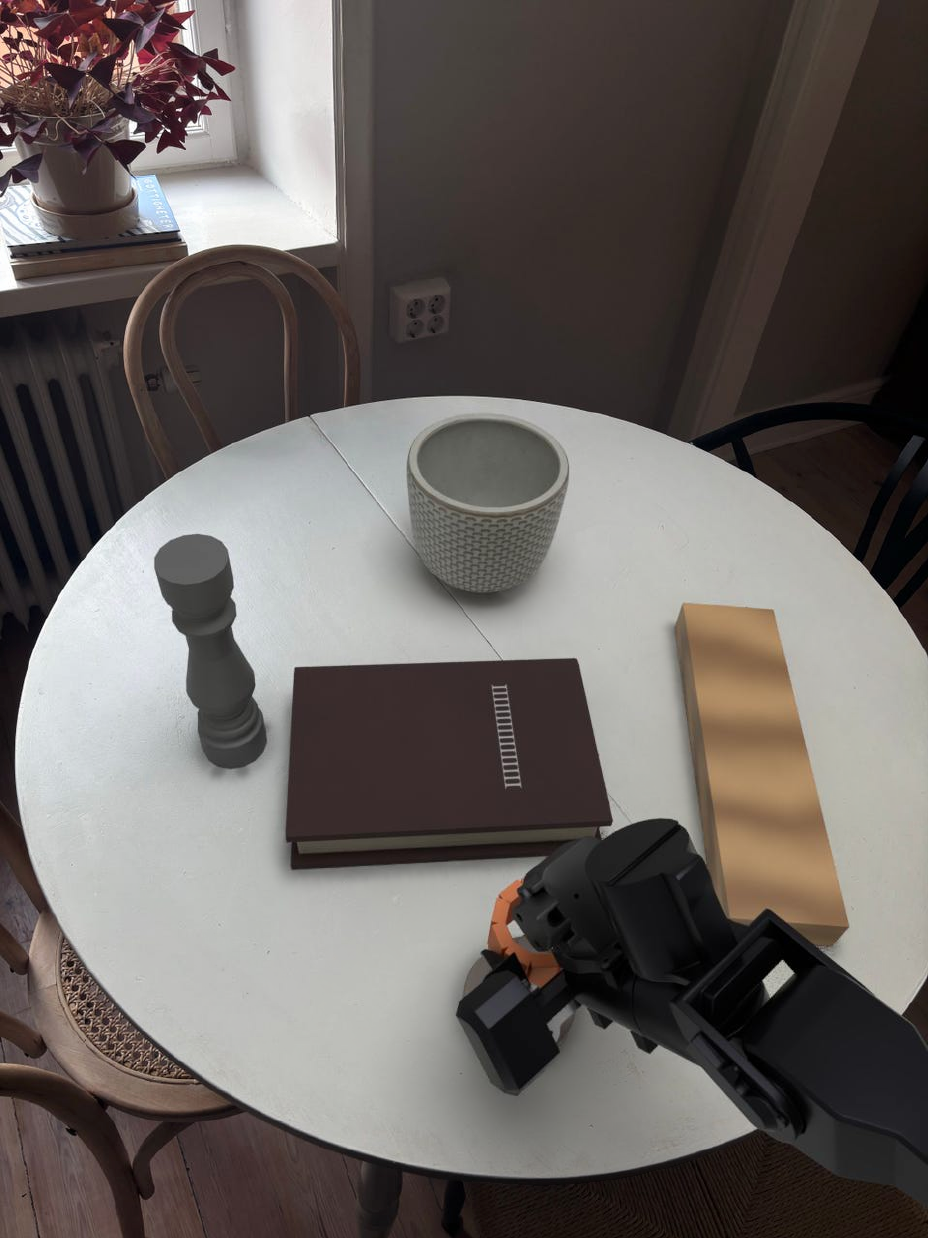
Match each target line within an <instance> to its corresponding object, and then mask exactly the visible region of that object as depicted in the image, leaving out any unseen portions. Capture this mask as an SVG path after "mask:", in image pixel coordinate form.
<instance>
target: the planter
mask: <svg viewBox="0 0 928 1238" xmlns="http://www.w3.org/2000/svg"><path fill="white" fill-rule="evenodd" d="M406 459H407V460H406V487H407V498H408V510H409V516H410V517H409V518H410V525H411V531H412V535H413V536H412V537H413V539H414V544H415V547H416V548H415V549H416V550H417V553H418V555H419V557H420V559H421V561H422V563H423V564H424V565H425V567H426V568H427V569H428V570H429V572H431V573H432V574H433V575H434V576H435V577H436V578H438V579H439V580H440V581H442V582H444V583H445V584H447V585H449V586H451V587H453V588H457V589H458V590H459V589H460V590H462V591H465V592H467V593H468V592H469V593H473V594H491V593H496V592H501V591H506V590H509V589H512V588H514V587H516V586H519V585H521V584H522V583H524V582H526V581H527V580H528V579H530V578H531V577H532V576H533V575H534V574H535V573H536V572H537V571H538V570H539V568H540V567H541V566H542V564H543V563H544V561H545V560H546V558H547V555H548V553H549V551H550V548H551V545H552V543H553V539H554V537H555V535H556V531H557V527H558V526H559V525H558V524H559V521H560V518H561V514H562V510H563V507H564V502H565V499H566V495H567V492H568V487H569V480H570V464H569V458H568V455H567V454H566V451H565V448H563V446H562V445H561V443H560V442H559V441H558V440H557V439H556V438H555V437H554V435H551V433H549V432H548V431H547V430H545V429H543V428H541V427H540V426H538V425H536V424H535V423H533V422H530V421H527V420H525V419H522V418H518V417H516V416H513V415H512V416H511V415H507V414H502V413H493V412H473V413H472V412H470V413H464V414H457V415H454V416H449V417H446V418H444V419H441V420H438V421H436V422H434V423H433V424H431V425H429V426H428V427H426V428H425V429H424V430H423V431H421V432H420V433H419V434H418V435H417V436H416V438H415V439H413V442H412V443H411V445H410V447H409V450H408V453H407V458H406Z"/></svg>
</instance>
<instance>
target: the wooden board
mask: <svg viewBox="0 0 928 1238" xmlns="http://www.w3.org/2000/svg"><path fill="white" fill-rule="evenodd" d="M674 631H675V639H676V646H677V647H676V648H677V652H678V653H677V654H678V660H679V661H678V662H679V668H680V675H681V682H682V690H683V697H684V704H685V711H686V712H685V713H686V720H687V726H688V734H689V741H690V742H689V743H690V747H691V754H692V755H691V756H692V764H693V769H694V778H695V785H696V792H697V793H696V794H697V801H698V806H699V813H700V820H701V828H702V829H701V830H702V835H703V843H704V851H705V858H706V866H707V868H708V870H709V873H710V875H711V878H712V882H713V886H714V890H715V892H716V895H717V897H718V899H719V902H720V904H721V906H722V908H723V911H724V913H725V915H726V917H727V918H728V919H730V920H732V921H734V922H737V923H741V924H744V925H747V926H748V925H749V924H750V923H751V922H752V921H753V920H754V919H755V918H756V917H757V916H758V915H760V914H761V913H762V912H763V911H764V910H765V909H770V910H772V911H773V912H774V913H775V914H777V915H778V916H779V917H780V918H782V919H783V920H784V921H785V922H787V923H788V924H789V925H790V926H791V927H793V928H794V929H795V930H796V931H798V932H799V933H800V934H801V935H803V936H804V937H805V938H806V939H808V940H809V941H810V942H811V943H812V944H814V945H815V946H826V947H833V946H834V945H835V944H836V943H837V942H838V941H839V939H840V938H841V937H842V936H843V935H844V934H845V933H846V931H847V930H848V929H849V928H850V923H849V919H848V915H847V911H846V906H845V902H844V898H843V894H842V890H841V885H840V881H839V877H838V873H837V869H836V865H835V861H834V855H833V852H832V848H831V843H830V839H829V835H828V831H827V828H826V827H827V826H826V823H825V819H824V815H823V811H822V806H821V802H820V799H819V797H820V796H819V794H818V789H817V785H816V781H815V776H814V773H813V768H812V764H811V760H810V756H809V751H808V748H807V744H806V739H805V735H804V730H803V726H802V723H801V717H800V714H799V710H798V706H797V702H796V698H795V694H794V690H793V685H792V681H791V676H790V673H789V668H788V665H787V659H786V656H785V652H784V647H783V644H782V639H781V635H780V631H779V627H778V622H777V618H776V614H775V611H774V609H773V608H760V607H746V606H745V607H744V606H734V605H733V606H732V605H722V604H721V605H718V604H706V603H694V602H693V603H692V602H682V604H681V607H680V610H679V613H678V615H677V618H676V622H675V624H674Z"/></svg>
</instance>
